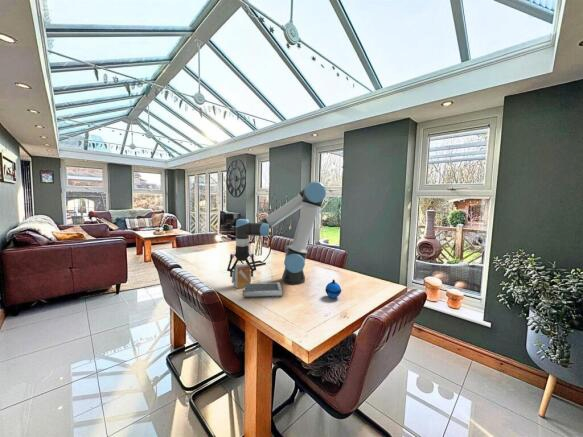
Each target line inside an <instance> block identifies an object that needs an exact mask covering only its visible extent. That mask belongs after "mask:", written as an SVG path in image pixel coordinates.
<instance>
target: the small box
mask: <svg viewBox="0 0 583 437" xmlns="http://www.w3.org/2000/svg"><path fill="white" fill-rule="evenodd" d="M233 271H234V282H233V287H235V289H237V290H238V289H243V288H244V289H245V284H249V283H250V271H251V270H250V266H248V264H247V263H246V262H244V263H237V264H236V266H235V267H234V269H233Z"/></svg>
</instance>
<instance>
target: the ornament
mask: <svg viewBox="0 0 583 437" xmlns="http://www.w3.org/2000/svg"><path fill="white" fill-rule="evenodd" d="M325 292H326V294H327V295H326V296H328V297H329V298H332V299H335V298H338V297H339V296H340V295H341V293H342V288H341V285H340V284H339V283H337V282H336V280H335V279H332V281H331V282H328V283H327V285H326V287H325Z"/></svg>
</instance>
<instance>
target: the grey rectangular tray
mask: <svg viewBox="0 0 583 437" xmlns="http://www.w3.org/2000/svg"><path fill="white" fill-rule="evenodd" d="M243 293H244V294H243V295H244V298H243V299H263V298H264V299H266V298H267V299H268V298H282V296H283V289H282V286H281V283H280V282H279V281H278V282H262V283H261V282H258V283H257V282H256V283H255V282H253V283H252V282H251V283H249V284H245V288H244V291H243Z"/></svg>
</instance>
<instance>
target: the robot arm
mask: <svg viewBox="0 0 583 437" xmlns="http://www.w3.org/2000/svg"><path fill="white" fill-rule="evenodd" d="M326 195H327V189H326V187H325V185H324V184H323V183H321V182H319V181H311V182H309V183H307V185H306V186H305V187H304V188H303V189H302V190H301V191H299V192H298V193H297V195H296V196H294V198H292V199H291V200H289V201H287V202H286V203H284V204H283V205H282V206H280V207H278V209H276V210H274V211H273V212H271V213H270V214H268V215H267V216H265V217H264V218H263V219H261V220H260V221H258V222H250V220H249V219H247V218H239V219H236V222H235V253H234V254H233V253H230V255H229V258H230V259H229V262H228V265H227V269H226V271H227V272H229V277H230V278H231V284H234V267H235V266H236V265H237V264H238V262H241V261H243V262H245V263H247V264H248V266H250V283H252V277H254V272H256V271H257V267H256V266H257V265H256V263H255V258H254V257H255V254H254V253H250V252H249V248H250V246H249V245H250V244H249V243H250V242H249V241H250V239H249V237H251V236H252V237H253V236H256V237H269V234H270V229H272V228H273V227H275V226H276V225H278V224H279V223H280V222H282V221H283V220H285V219H286V218H288V217H289V216H292V215H293V214H294V213H295V212H296V211H298V210H300V209H301V208H302V209H301V212H300V214H299V215H300V216H299V219H298V223H297V226H296V229H295V233H294V236H293V238H292V239H293V240H292V243H291V244H290V245H286V246H285V250H284V251H285V253H284V254H285V255H284V263H283V264H284V270H283V273H282V276H281V282H283V283H285V284H287V285H288V284H289V285H301V284H303V283H305V282H306V275H305V272H304V268H305V265H306V258H307V256H308V250H307V247H308V243H309V239H310V236H311V234H312V233H311V232H312V230H313V226H314V222H315V219H316V216H317V212H318V210H319V209H320V208H322V206H323V205H322V204H323V203H324V200H325V198H326ZM249 257H250V260H251V262H252V264H251V263H250V260H249V259H248V258H249ZM234 258H236V260H235V261H234V262H233V264H232V261H233V259H234ZM231 265H232V266H231Z"/></svg>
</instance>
